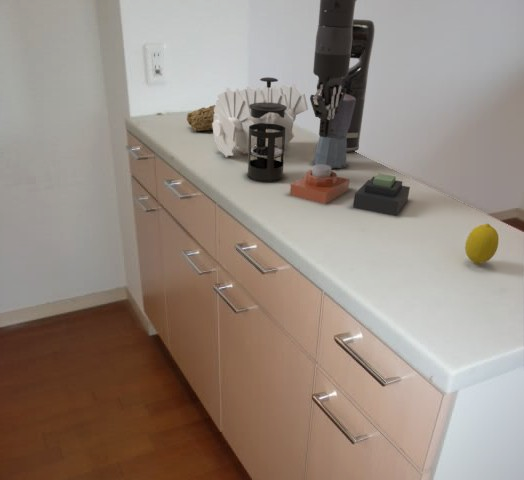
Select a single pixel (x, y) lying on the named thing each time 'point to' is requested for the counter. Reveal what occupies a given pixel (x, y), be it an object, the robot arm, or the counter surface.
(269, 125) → the french press
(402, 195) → the dark square push button
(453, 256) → the counter surface
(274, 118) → the spiral staircase
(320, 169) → the pale grey round puck
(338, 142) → the moka pot
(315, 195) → the orange button block
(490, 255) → the lemon
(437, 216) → the counter surface
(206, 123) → the sponge
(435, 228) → the counter surface
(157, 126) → the counter surface
